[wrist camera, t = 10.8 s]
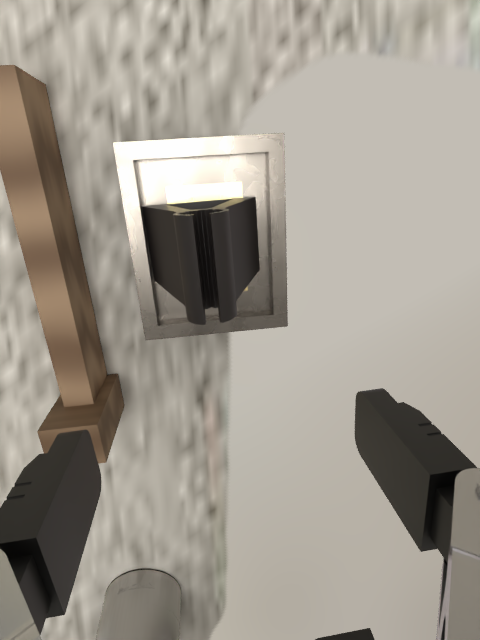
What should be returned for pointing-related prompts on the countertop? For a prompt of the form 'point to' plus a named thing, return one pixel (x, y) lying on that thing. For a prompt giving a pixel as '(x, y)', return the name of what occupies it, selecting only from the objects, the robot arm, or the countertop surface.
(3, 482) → the countertop surface
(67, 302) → the door-edge rail
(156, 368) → the countertop surface
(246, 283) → the phone stand
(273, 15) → the countertop surface
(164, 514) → the countertop surface
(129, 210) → the silver shallow tray
